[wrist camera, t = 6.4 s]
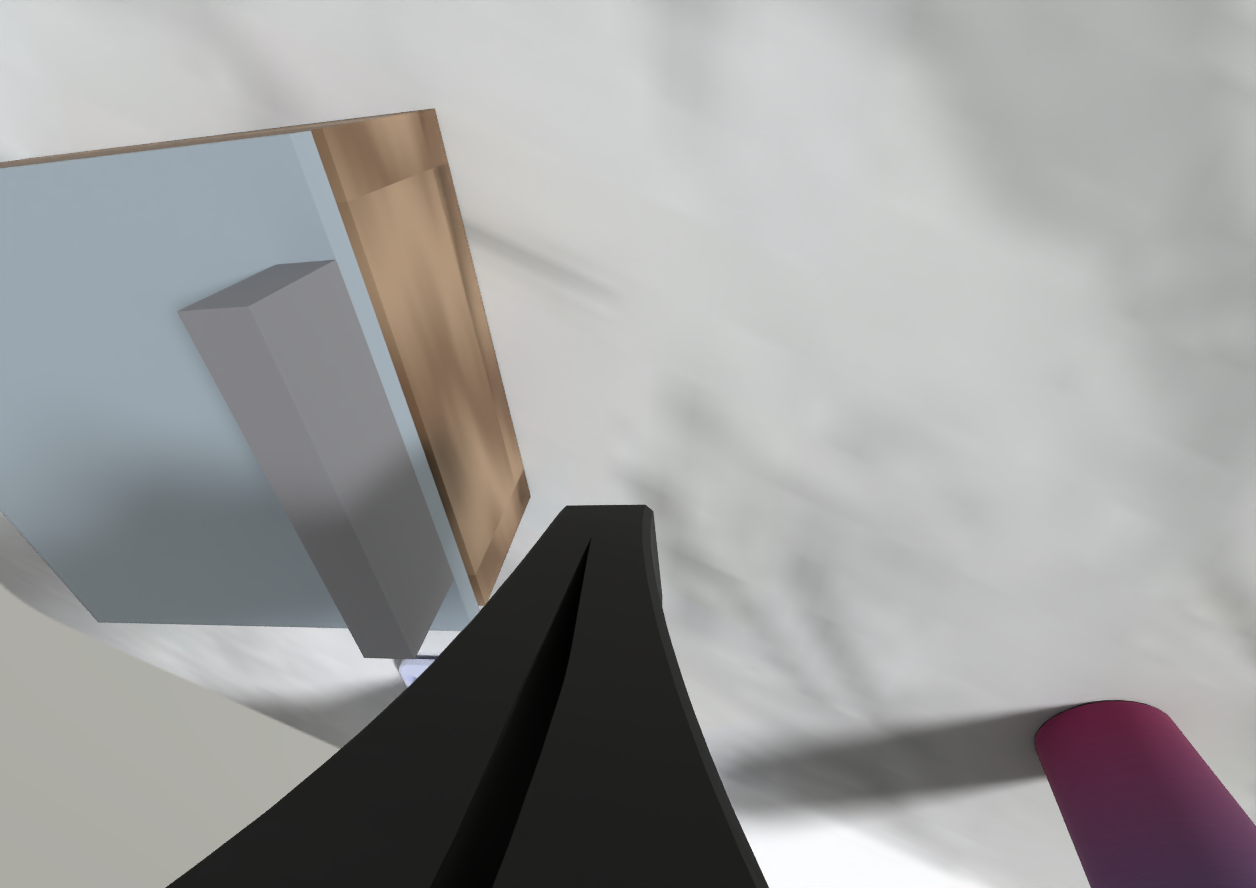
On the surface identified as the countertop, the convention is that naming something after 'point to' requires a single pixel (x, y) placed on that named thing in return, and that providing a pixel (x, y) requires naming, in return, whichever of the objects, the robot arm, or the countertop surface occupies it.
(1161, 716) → the cup
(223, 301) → the lid
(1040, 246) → the countertop surface
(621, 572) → the robot arm
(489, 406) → the walnut box
